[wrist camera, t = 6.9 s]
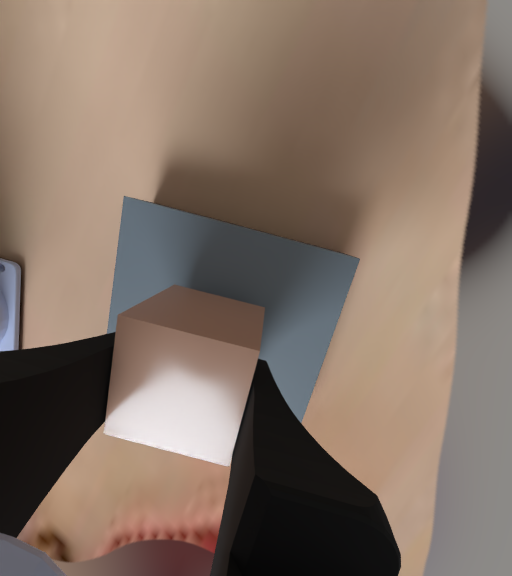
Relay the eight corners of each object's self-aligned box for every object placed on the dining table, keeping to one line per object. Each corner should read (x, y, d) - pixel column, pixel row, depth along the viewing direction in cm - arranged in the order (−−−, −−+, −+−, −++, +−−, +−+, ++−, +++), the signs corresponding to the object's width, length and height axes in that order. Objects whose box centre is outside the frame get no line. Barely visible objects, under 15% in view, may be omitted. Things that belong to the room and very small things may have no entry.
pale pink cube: (160, 366, 13) (103, 433, 9) (174, 284, 12) (117, 314, 8) (244, 387, 13) (228, 466, 9) (265, 307, 12) (260, 351, 8)
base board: (127, 372, 18) (98, 399, 15) (152, 202, 15) (123, 195, 12) (288, 416, 18) (290, 452, 15) (343, 253, 15) (360, 258, 12)
